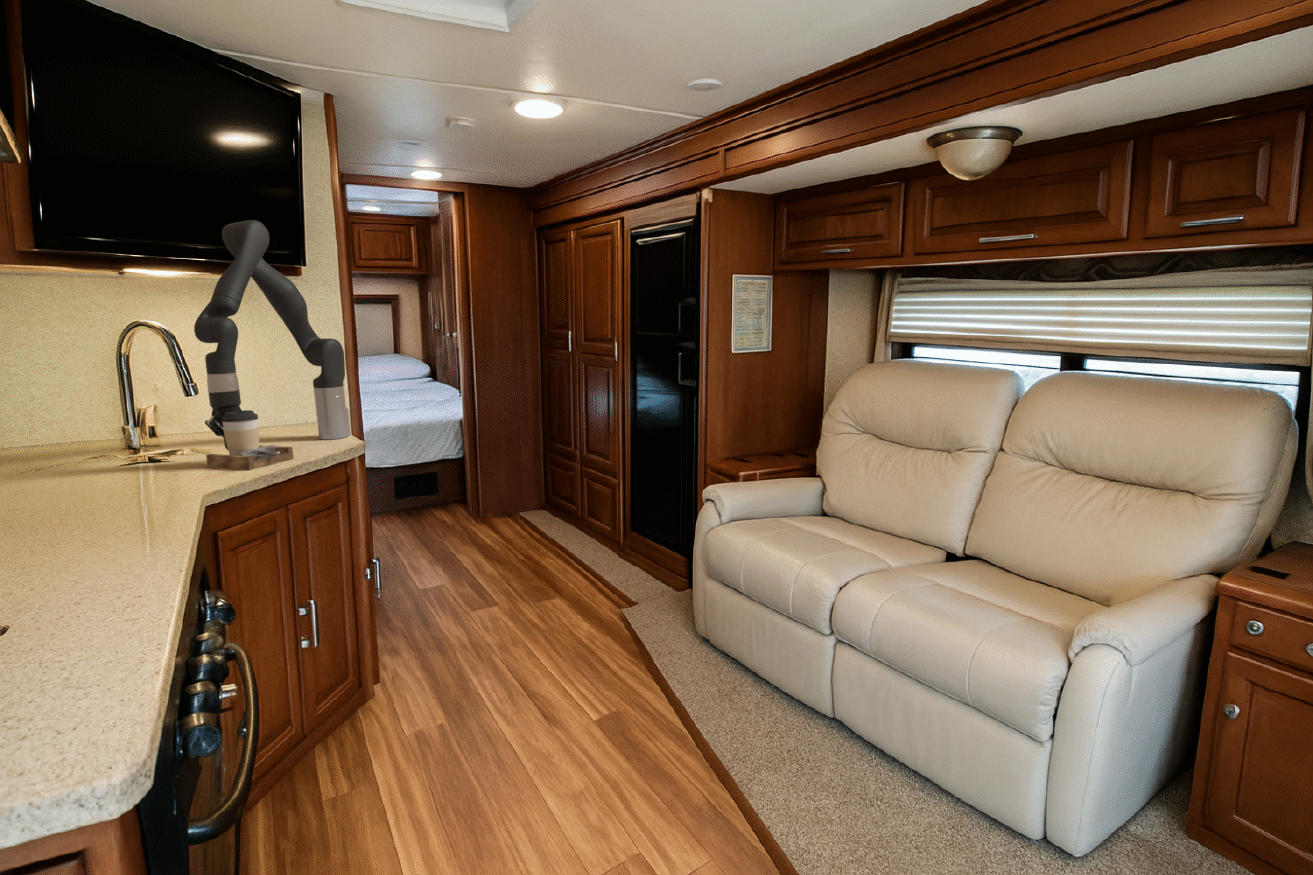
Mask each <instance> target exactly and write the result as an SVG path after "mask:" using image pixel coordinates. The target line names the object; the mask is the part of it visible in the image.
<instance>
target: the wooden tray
mask: <svg viewBox="0 0 1313 875" xmlns="http://www.w3.org/2000/svg"><path fill="white" fill-rule="evenodd" d="M264 446H265V445H260V444H259V448H260V447H264ZM275 450H276V451H278V452H280V455H276V456H272V457H268V458H264V459H260V460H256V461H254V460H253V456H240V455H229V454H219V453H218V454H216V453H209V454H206V455H205V457H206V462H207V468H210V469H212V468H213V469H225V470H226V469H227V470H228V469H229V470H246V471H251V470H254V469H259V468H264V467H267V466H271V465H274V464H278V463H283V462H286V461H290V460H293V459H294V450H293V446H283V445H282V446H280V445H279V446H277V445H275Z"/></svg>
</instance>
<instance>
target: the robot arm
mask: <svg viewBox="0 0 1313 875" xmlns="http://www.w3.org/2000/svg"><path fill="white" fill-rule="evenodd" d="M221 235H222V236H221V237H222V240H223V243H224V244H225V247H226V249H227V250H228V251H229V252H230V253H231V255H232V256H233V257H234V260H233V261H232V262H231V264H230V265H229V266H228V267H227V268H226V270H225V271H224V272H223V274H221V276H220V277H219V279H218V281H217V282H216V284H215V287H214V290H213V293H212V295H211V299H210V301H209V302H208V304H207V305H206V306H205V307H204V308H203V310H202V311H201V313H200V314H199V315H198V316H197V318H196V320H195V322H194V325H193V326H194V327H193V331H194V336H195V337H196V339H197V340H198V341H199V342H202V343H204V344H217V345H216V349H215V350H214V351H212V352H211V351H210V352H208V353H207V354H206V355H205V356H204V361H205V368H206V369H205V370H206V378H207V379H206V385H207V392H208V401H209V406H210V408H211V417H210V418H209V419H207V420H205V421H204V424H205V425H206V426H207V427H208V428H209V429H210V430H211V432H213V434H215V436H217V437H222V438H223V442H224V448H225V449H226V450H227V451H228V449H227V444H226V440H225V435H224V427H223V422H222V417H223V416H224V415H225V413H227V412H232V411H243V410H242V408H241V406H240V405H241V404H242V401H241V392H240V385H239V379H238V374H237V367H236V361H235V357H236V352H237V351H236V350H237V346H238V340H239V330H238V326H237V324H236V322H235V321H234V320H233V319H232V318H229V317H232V316H235V315H236V314H237V313H238V312H239V310H240V307H241V304H242V301H243V297H244V295H245V291H246V288H247V287H248V284H249V282H250V280H251V279H252V280H253V282H255V284H256V285H257V287H258V288H259V290H261V292H262V294H263V295H264V296H265V298H266V299H267V301H268V303H269V304H270V305H271V307H272V309H273V310H274V311H275V312H276V314H277V315H278V316H279V317H280V319H281V321H282V322H283V324H284V326H286V328H287V330H288V331H289V332H290V334H291V335H292V337H293V339H294V341H295V342H296V344H297V345H298V347H299V350H300V351H301V353H302V354H303V357H304V358H305V359H306V361H307V362H308V363H309V364H311V365H312V366H315V367H320V374H319V376H316V377H315V378H314V379H313V380H312V385H313V396H314V404H315V413H316V423H317V431H318V438H319V440H338V439H344V438H347V437H349V436H351V435H352V434H351V428H350V427H351V425H350V415H349V408H348V407H347V406H346V397H345V396H346V395H345V386H344V381H345V377H346V367H345V366H346V364H345V351H344V348H343V346H342V344H341V342H340V341H339V340H338V339H335V338H321V337H319V336H318V335H317V333H316V332H315V330H314V329H313V327H312V326H311V324H310V321H309V317H308V314H309V313H308V305H307V302H306V300H305V297H304V296H303V295H302V294H301V292H300V290H299V289H298V288H297V286H296V285H295V283H294V282H293V281H292V280H291V279H289V278H288V277H287V276H286V275H284V274H283V273H281V272H279V271H278V270H277V269H275V268H274V267H272V266H271V265H270V264H269V263H267V262H266V260H265V259H264V258H263V257H264V255H265V253H266V251H267V249H268V247H269V244H270V233H269V231H268V229H267V226H265V225H264V223H262V222H261V221H259V220H255V219H252V220H251V219H248V220H243V221H242V220H241V221H239V222H231V223H229V224H226V225H224V226H223V228H222V230H221Z"/></svg>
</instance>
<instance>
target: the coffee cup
mask: <svg viewBox="0 0 1313 875" xmlns="http://www.w3.org/2000/svg"><path fill="white" fill-rule="evenodd" d="M222 422H223V427H224V435H225V440H226V444H227V449H228V450H227V449H226V450H227V451H228V455H239V452H242V451H246V450H251V449H255V448H259V445H260V432H259V431H260V428H259V415H258V414H257V413H255V412H254V410H242V411H232V412H227V413H225V415H224V416H223V417H222Z"/></svg>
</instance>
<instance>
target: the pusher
mask: <svg viewBox="0 0 1313 875" xmlns="http://www.w3.org/2000/svg"><path fill="white" fill-rule="evenodd" d="M263 446H264V447H260V448H255V449H251V450H246V451H242V452H239V455H240V456H253V460H254V461H256V460H260V459H264V458H268V457H272V456H276V455H280V452H278V451H276V450H275V446H276V444H270V445H263Z"/></svg>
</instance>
